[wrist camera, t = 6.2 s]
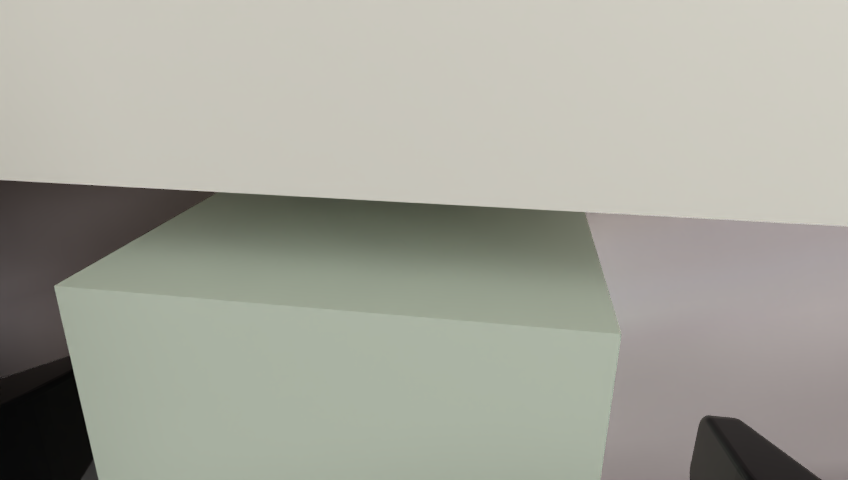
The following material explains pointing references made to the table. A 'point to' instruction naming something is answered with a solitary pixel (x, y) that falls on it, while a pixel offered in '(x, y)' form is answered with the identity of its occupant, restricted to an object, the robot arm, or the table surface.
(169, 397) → the cabinet block
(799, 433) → the table surface
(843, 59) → the cleat board
